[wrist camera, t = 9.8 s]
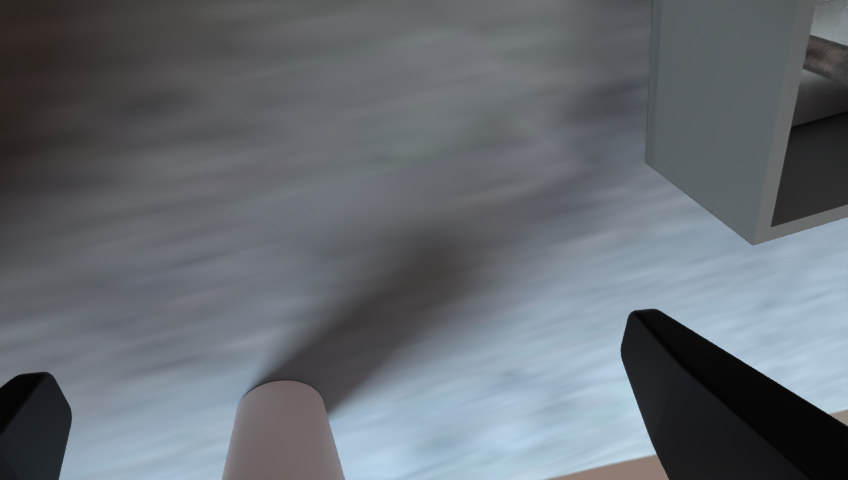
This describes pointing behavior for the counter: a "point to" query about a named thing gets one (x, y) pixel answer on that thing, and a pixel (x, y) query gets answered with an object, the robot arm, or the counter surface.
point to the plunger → (824, 65)
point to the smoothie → (282, 436)
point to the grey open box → (742, 116)
